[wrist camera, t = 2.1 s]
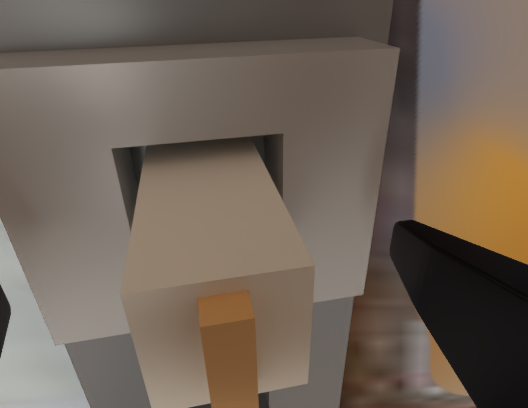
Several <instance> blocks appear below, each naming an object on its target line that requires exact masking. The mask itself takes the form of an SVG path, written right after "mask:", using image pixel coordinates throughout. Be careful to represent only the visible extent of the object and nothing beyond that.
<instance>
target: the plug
mask: <svg viewBox="0 0 528 408" xmlns="http://www.w3.org/2000/svg"><path fill="white" fill-rule="evenodd" d="M314 279H315V264H314V262H313V260H312V258H311V256H310V254H309V252H308V250H307V248H306V246H305V244H304V242H303V240H302V238H301V236H300V234H299V232H298V230H297V228H296V226H295V224H294V222H293V220H292V218H291V216H290V214H289V212H288V210H287V208H286V206H285V204H284V202H283V200H282V198H281V196H280V194H279V192H278V190H277V188H276V186H275V184H274V182H273V180H272V178H271V176H270V175H269V173H268V171H267V169H266V167H265V165H264V163H263V161H262V159H261V157H260V155H259V153H258V151H257V149H256V147H255V145H254V143H253V141H252V139H251V137H250V136H249V137H237V138H226V139H214V140H203V141H192V142H180V143H169V144H157V145H146V149H145V154H144V160H143V166H142V171H141V177H140V183H139V189H138V194H137V200H136V206H135V211H134V217H133V223H132V229H131V234H130V240H129V246H128V251H127V257H126V263H125V268H124V274H123V280H122V286H121V291H120V296H121V300H122V304H123V307H124V311H125V314H126V318H127V322H128V325H129V329H130V333H131V336H132V340H133V343H134V347H135V351H136V354H137V358H138V361H139V365H140V369H141V372H142V376H143V379H144V383H145V387H146V390H147V394H148V397H149V401H150V405H151V408H189V407H194V406H199V405H204V404H209V403H211V408H259V401H258V394H259V393H264V392H269V391H274V390H279V389H284V388H289V387H294V386H299V385H304V384H308V375H309V359H310V343H311V327H312V311H313V295H314Z"/></svg>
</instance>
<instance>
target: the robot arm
mask: <svg viewBox="0 0 528 408" xmlns="http://www.w3.org/2000/svg"><path fill="white" fill-rule="evenodd" d="M390 256H391V259H392V261H393V263H394V265H395V267H396V270H397V272H398V274H399V276H400V278H401V280H402V282H403V284H404V286H405V288H406V290H407V292H408V294H409V297H410V299H411V301H412V303H413V305H414V306H415V308H416V310H417V312H418V314H419V315H420V317H421V319H422V320H423V322H424V323H425V325H426V327H427V328H428V330H429V331H430V333H431V335H432V336H433V338H434V339H435V341H436V343H437V344H438V346H439V347H440V349H441V351H442V352H443V354H444V356H445V357H446V359H447V360H448V362H449V363H450V365H451V367H452V368H453V370H454V372H455V373H456V375H457V376H458V378H459V380H460V381H461V382H462V384H463V386H464V388H465V389H466V391H467V392H468V394H469V396H470V397H471V399H472V401H473V402H474V404H475V405H476V407H477V408H528V265H527V264H524V263H522V262H519V261H517V260H514V259H512V258H509V257H506V256H504V255H501V254H499V253H496V252H494V251H491V250H488V249H486V248H484V247H481V246H478V245H476V244H473V243H471V242H468V241H465V240H463V239H460V238H458V237H455V236H453V235H450V234H448V233H445V232H442V231H440V230H437V229H435V228H432V227H430V226H427V225H425V224H422V223H420V222H417V221H414V220H405V221H398V222H396V223H395V225H394V228H393V233H392V238H391V244H390ZM10 315H11V309H10V304H9V302H8V300H7V298H6V296H5V293H4V291H3V289H2V287H1V285H0V357H1V353H2V349H3V345H4V340H5V336H6V332H7V328H8V324H9V320H10Z"/></svg>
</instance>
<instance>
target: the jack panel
mask: <svg viewBox="0 0 528 408" xmlns="http://www.w3.org/2000/svg"><path fill="white" fill-rule="evenodd" d="M393 2H394V0H0V217H1V220H2V222H3V224H4V227H5V229H6V231H7V234H8V236H9V238H10V241H11V243H12V245H13V248H14V250H15V252H16V255H17V257H18V259H19V262H20V264H21V266H22V269H23V271H24V273H25V276H26V278H27V280H28V283H29V285H30V287H31V290H32V292H33V294H34V297H35V299H36V301H37V304H38V306H39V308H40V311H41V313H42V315H43V318H44V320H45V322H46V325H47V327H48V329H49V332H50V334H51V336H52V339H53V341H54V343H55V345H61V344H65V347H66V349H67V351H68V354H69V356H70V359H71V361H72V364H73V366H74V368H75V371H76V373H77V376H78V378H79V381H80V383H81V386H82V388H83V390H84V393H85V395H86V398H87V400H88V403H89V405H90V407H91V408H151V405H150V401H149V397H148V394H147V390H146V387H145V383H144V379H143V376H142V372H141V369H140V365H139V361H138V358H137V354H136V351H135V347H134V343H133V340H132V336H131V333H130V329H129V325H128V322H127V318H126V314H125V311H124V307H123V304H122V300H121V296H120V291H121V286H122V280H123V274H124V268H125V263H126V257H127V251H128V246H129V240H130V234H131V229H132V223H133V217H134V211H135V206H136V200H137V194H138V189H139V183H140V177H141V171H142V166H143V160H144V154H145V149H146V145H157V144H169V143H180V142H192V141H203V140H214V139H226V138H237V137H249V136H250V137H251V139H252V141H253V143H254V145H255V147H256V149H257V151H258V153H259V155H260V157H261V159H262V161H263V163H264V165H265V167H266V169H267V171H268V173H269V175H270V176H271V178H272V180H273V182H274V184H275V186H276V188H277V190H278V192H279V194H280V196H281V198H282V200H283V202H284V204H285V206H286V208H287V210H288V212H289V214H290V216H291V218H292V220H293V222H294V224H295V226H296V228H297V230H298V232H299V234H300V236H301V238H302V240H303V242H304V244H305V246H306V248H307V250H308V252H309V254H310V256H311V258H312V260H313V262H314V264H315V279H314V295H313V311H312V327H311V343H310V359H309V375H308V384H304V385H299V386H294V387H289V388H284V389H279V390H274V391H269V392H264V393H259V394H258V401H259V408H339V404H340V396H341V389H342V381H343V374H344V367H345V359H346V352H347V344H348V337H349V329H350V322H351V314H352V307H353V300H354V296H358V295H363V293H364V286H365V279H366V273H367V266H368V259H369V253H370V246H371V239H372V233H373V226H374V219H375V213H376V206H377V200H378V193H379V186H380V180H381V173H382V166H383V160H384V153H385V146H386V140H387V133H388V126H389V120H390V113H391V106H392V100H393V93H394V86H395V80H396V73H397V66H398V60H399V53H400V48H398V47H394V46H391V45H388V39H389V31H390V24H391V17H392V9H393ZM189 408H211V403H209V404H204V405H199V406H194V407H189Z"/></svg>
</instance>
